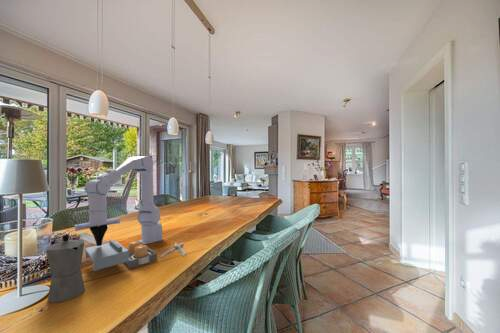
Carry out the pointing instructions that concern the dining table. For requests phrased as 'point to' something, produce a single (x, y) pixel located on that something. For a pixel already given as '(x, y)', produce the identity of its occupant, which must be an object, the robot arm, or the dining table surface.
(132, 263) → the housing
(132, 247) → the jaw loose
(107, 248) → the lid
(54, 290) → the coffeepot
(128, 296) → the dining table surface
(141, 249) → the jaw seated
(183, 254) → the hammer
